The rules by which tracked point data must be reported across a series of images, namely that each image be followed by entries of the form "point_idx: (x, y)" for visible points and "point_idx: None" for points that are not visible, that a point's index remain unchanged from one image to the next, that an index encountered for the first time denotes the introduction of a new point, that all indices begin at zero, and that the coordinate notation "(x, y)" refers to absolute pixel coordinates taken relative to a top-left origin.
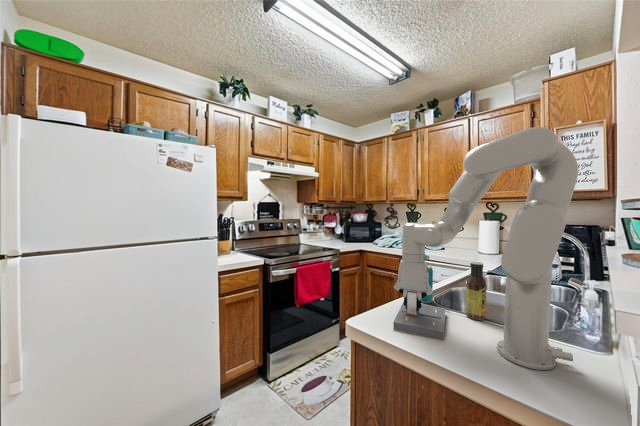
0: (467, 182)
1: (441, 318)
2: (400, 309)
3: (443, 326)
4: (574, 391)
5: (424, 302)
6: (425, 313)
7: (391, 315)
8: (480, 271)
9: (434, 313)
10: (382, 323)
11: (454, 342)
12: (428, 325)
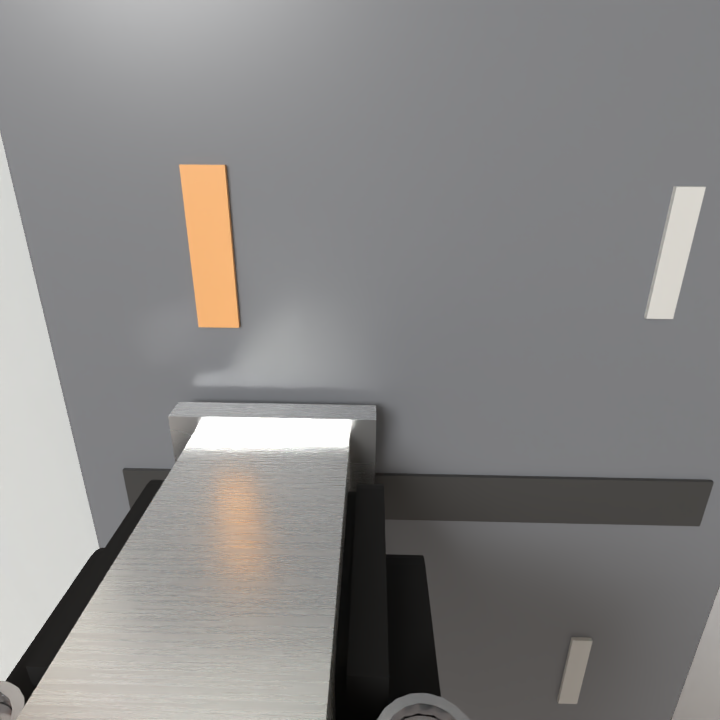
0: None
1: (706, 500)
2: (87, 441)
3: (676, 684)
4: None
5: None
6: (479, 429)
7: (29, 414)
8: None
9: (629, 369)
10: (42, 624)
11: (702, 692)
12: (508, 717)
